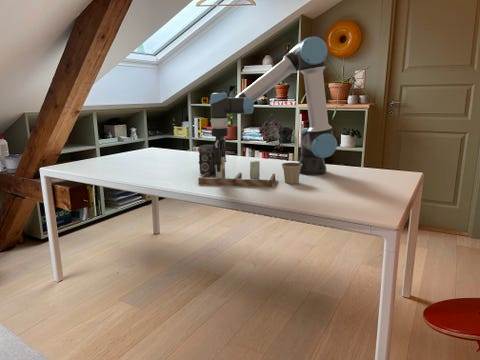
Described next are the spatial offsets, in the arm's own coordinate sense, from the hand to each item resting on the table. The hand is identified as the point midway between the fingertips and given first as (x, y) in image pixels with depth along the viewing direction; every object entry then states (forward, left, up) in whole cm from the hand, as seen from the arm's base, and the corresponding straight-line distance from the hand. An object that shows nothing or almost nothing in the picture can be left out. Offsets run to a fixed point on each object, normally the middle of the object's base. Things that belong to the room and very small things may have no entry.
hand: (220, 176), depth 169 cm
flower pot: (-33, -3, -2) cm, 33 cm away
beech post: (0, 0, -1) cm, 1 cm away
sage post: (-16, 0, -2) cm, 16 cm away
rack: (-8, 0, -2) cm, 8 cm away
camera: (+10, -14, -2) cm, 17 cm away
